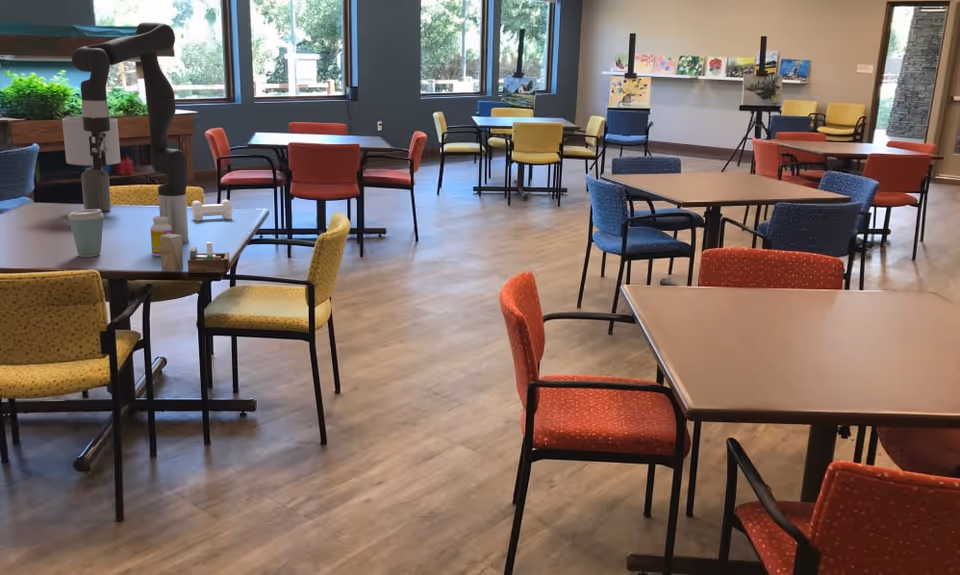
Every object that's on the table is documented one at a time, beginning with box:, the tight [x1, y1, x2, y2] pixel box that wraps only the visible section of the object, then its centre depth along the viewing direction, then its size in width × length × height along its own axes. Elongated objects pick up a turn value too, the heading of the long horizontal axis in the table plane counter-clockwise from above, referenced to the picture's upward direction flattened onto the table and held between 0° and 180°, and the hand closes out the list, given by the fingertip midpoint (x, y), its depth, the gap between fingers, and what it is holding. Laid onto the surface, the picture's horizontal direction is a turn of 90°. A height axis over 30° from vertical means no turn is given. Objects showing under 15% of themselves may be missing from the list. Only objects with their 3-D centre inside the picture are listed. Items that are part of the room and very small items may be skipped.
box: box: [160, 234, 184, 272], centre depth 251 cm, size 5×4×11 cm
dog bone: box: [191, 199, 233, 222], centre depth 330 cm, size 15×9×8 cm, turn 120°
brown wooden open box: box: [187, 252, 230, 274], centre depth 254 cm, size 9×12×5 cm
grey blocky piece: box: [189, 241, 216, 259], centre depth 253 cm, size 6×7×8 cm
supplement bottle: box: [150, 215, 172, 258], centre depth 268 cm, size 7×7×13 cm
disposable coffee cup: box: [67, 209, 105, 258], centre depth 263 cm, size 11×11×15 cm
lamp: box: [61, 116, 122, 214], centre depth 331 cm, size 20×20×39 cm
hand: (100, 168), depth 250 cm, fingers open, 8 cm apart
